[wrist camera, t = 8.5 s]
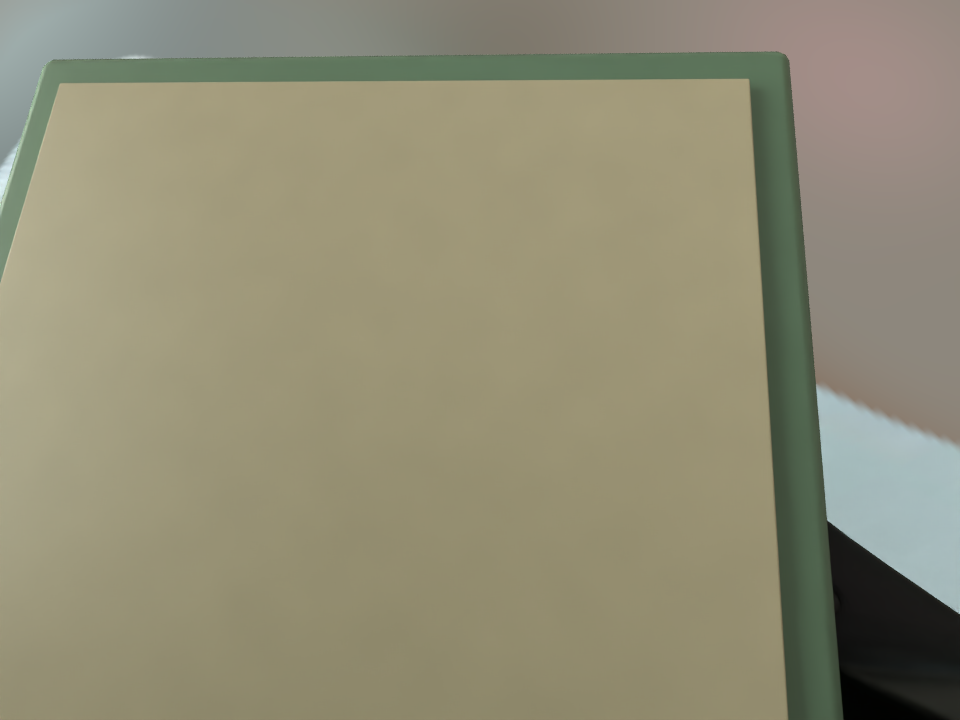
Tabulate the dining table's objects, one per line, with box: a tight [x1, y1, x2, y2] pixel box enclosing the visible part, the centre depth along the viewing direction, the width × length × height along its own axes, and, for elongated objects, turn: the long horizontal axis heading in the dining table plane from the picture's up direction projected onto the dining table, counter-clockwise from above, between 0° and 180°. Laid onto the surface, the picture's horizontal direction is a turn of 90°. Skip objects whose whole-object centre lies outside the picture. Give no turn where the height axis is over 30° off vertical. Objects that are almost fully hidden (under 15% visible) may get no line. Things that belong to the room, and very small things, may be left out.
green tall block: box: [0, 52, 843, 720], centre depth 9 cm, size 5×5×13 cm
